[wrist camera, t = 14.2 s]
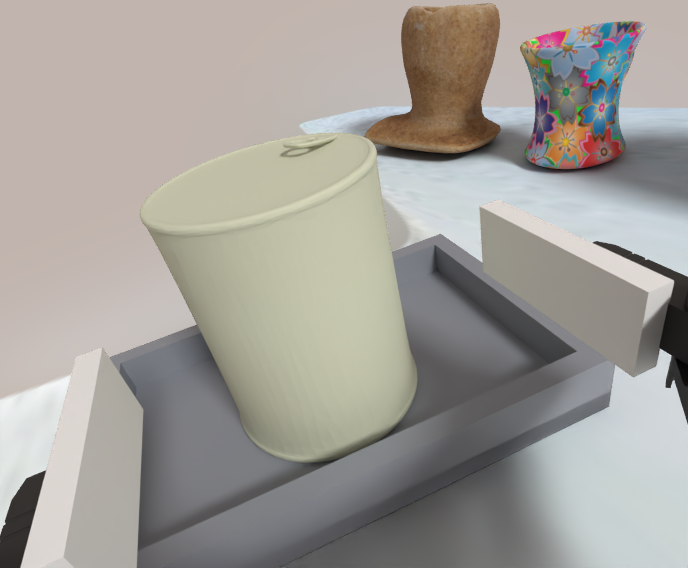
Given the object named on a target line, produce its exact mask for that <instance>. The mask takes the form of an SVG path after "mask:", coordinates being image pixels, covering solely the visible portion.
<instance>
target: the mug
mask: <svg viewBox="0 0 688 568" xmlns="http://www.w3.org/2000/svg"><path fill="white" fill-rule="evenodd" d="M645 30H646V25H645V24H644V23H642V22H612V23H602V24H595V25H588V26H582V27H576V28H571V29H567V30H562V31H558V32H554V33H549V34H546V35H542V36H539V37H536V38H533V39H530V40H528V41H526V42H524V43H523V44H522V45H521V47H520V50H521V52H522V55H523V57H524V59H525V61H526V63H527V66H528V69H529V72H530V75H531V79H532V83H533V88H534V94H535V105H536V106H535V123H534V129H533V133H532V136H531V139H530V142H529V144H528V146H527V148H526V150H525V156H526V158H527V159H528V160H529V161H530V162H532V163H534V164H536V165H539V166H543V167H548V168H555V169H576V168H585V167H590V166H595V165H599V164H602V163H605V162H608V161H610V160H612V159H614V158H616V157H618V156H619V155H620V154H621V153H622V152H623V151H624V149H625V147H626V144H625V141H624V139H623V136H622V134H621V130H620V126H619V115H618V108H619V97H620V92H621V87H622V82H623V81H624V79H625V77H626V74H627V73H628V70H629V68H630V65H631V62H632V59H633V56H634V51H635V49H636V47H637V45H638V43H639V41H640V39H641V37H642V35H643V33H644V32H645Z"/></svg>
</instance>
